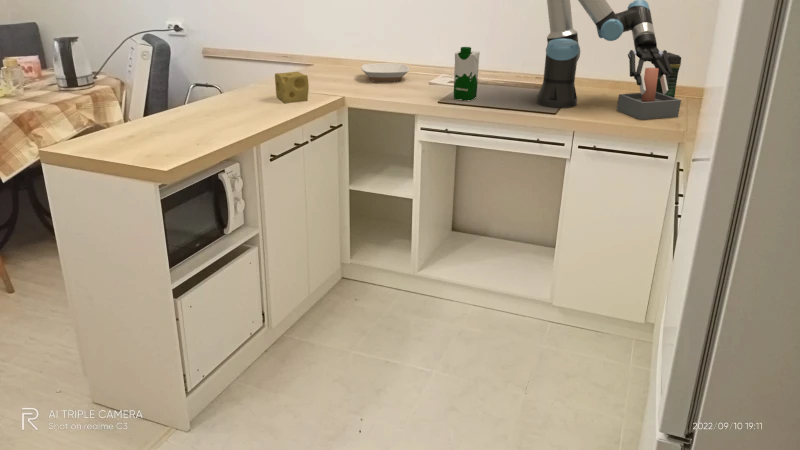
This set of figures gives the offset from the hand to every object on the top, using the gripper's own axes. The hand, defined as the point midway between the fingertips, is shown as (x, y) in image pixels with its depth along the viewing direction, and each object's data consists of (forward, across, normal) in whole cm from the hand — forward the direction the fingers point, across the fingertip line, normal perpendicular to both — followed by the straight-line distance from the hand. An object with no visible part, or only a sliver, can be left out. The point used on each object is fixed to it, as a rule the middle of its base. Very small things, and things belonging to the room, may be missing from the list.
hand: (654, 92), depth 226 cm
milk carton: (-13, +64, -26) cm, 70 cm away
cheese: (-13, +132, -26) cm, 135 cm away
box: (+4, 0, -8) cm, 9 cm away
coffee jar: (-10, -14, -22) cm, 28 cm away
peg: (+4, 0, -8) cm, 9 cm away
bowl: (-40, +94, -53) cm, 116 cm away
